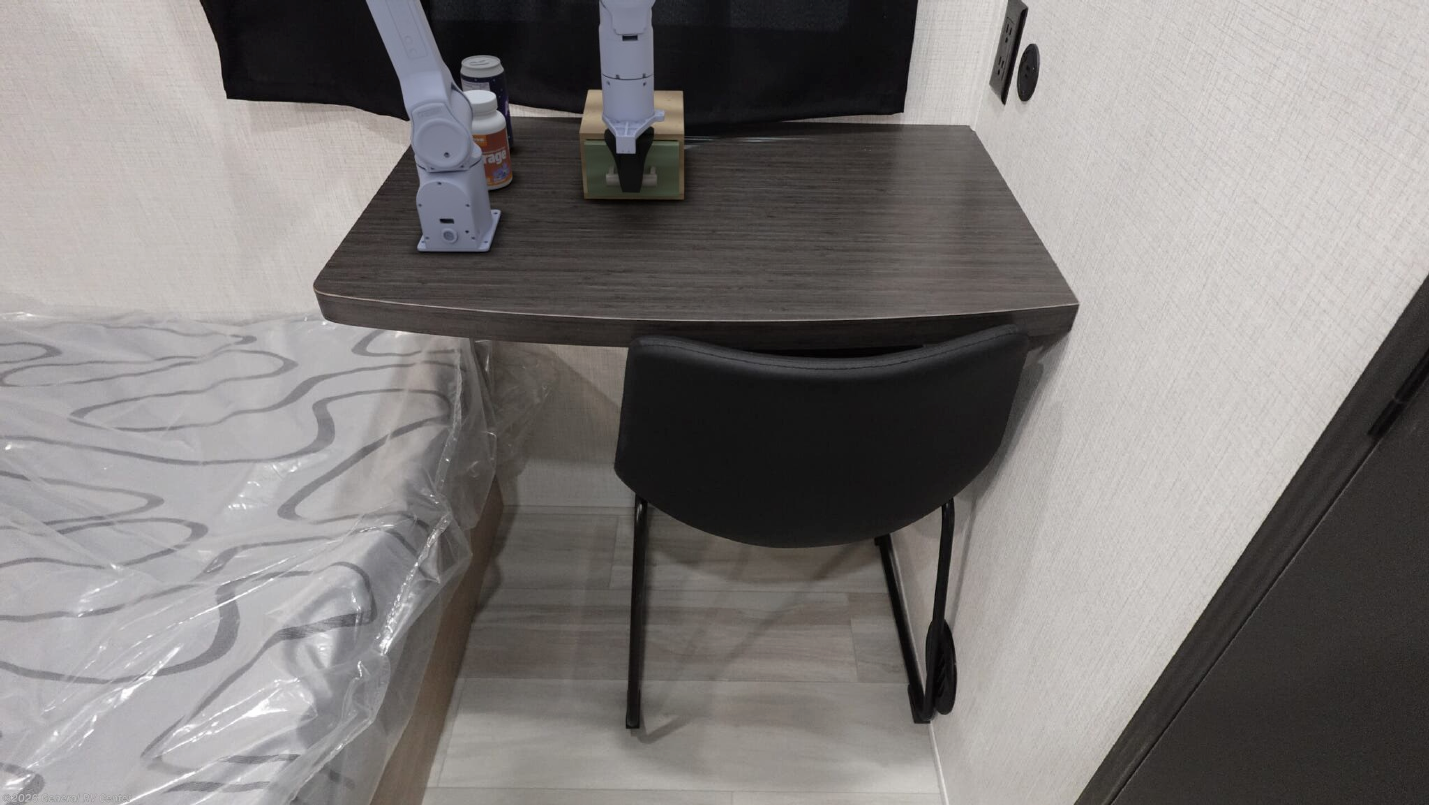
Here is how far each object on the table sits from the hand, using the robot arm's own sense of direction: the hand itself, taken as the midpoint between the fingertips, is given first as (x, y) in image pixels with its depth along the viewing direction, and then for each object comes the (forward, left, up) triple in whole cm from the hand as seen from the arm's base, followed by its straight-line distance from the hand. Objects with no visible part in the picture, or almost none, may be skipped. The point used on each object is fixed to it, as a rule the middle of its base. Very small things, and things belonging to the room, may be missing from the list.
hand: (631, 189), depth 100 cm
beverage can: (+20, +20, -4) cm, 29 cm away
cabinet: (+13, 0, -4) cm, 13 cm away
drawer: (+9, 0, -3) cm, 9 cm away
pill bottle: (+10, +19, -4) cm, 22 cm away
